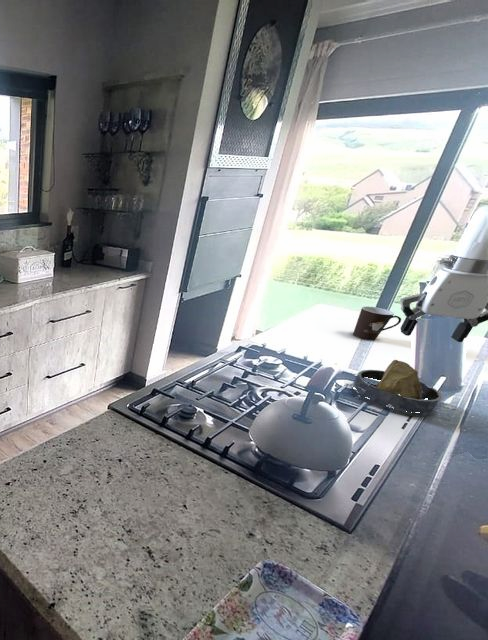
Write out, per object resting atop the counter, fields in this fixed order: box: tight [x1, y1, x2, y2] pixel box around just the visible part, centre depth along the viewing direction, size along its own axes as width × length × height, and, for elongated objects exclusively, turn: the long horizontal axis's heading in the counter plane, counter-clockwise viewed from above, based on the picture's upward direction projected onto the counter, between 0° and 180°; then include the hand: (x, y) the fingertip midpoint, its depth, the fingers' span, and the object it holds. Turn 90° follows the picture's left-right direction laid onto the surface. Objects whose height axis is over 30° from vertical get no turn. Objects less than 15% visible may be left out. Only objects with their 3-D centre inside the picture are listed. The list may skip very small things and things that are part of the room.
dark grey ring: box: [350, 369, 443, 417], centre depth 105 cm, size 16×16×4 cm
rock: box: [376, 359, 422, 400], centre depth 104 cm, size 11×9×10 cm
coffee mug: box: [352, 305, 402, 342], centre depth 142 cm, size 12×9×10 cm
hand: (430, 336), depth 98 cm, fingers open, 9 cm apart
